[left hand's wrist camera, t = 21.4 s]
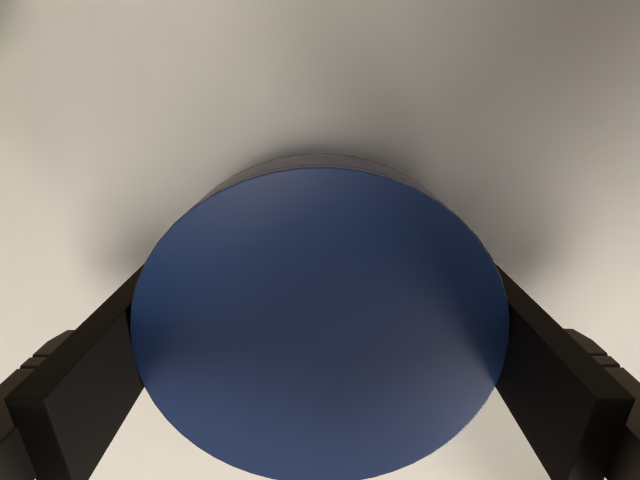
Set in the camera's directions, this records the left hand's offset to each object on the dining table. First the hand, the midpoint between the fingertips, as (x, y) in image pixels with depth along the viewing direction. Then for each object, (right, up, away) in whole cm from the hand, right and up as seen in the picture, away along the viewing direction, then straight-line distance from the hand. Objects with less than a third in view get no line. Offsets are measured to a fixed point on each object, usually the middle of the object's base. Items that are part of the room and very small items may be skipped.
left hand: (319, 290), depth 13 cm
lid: (0, -1, -3) cm, 3 cm away
